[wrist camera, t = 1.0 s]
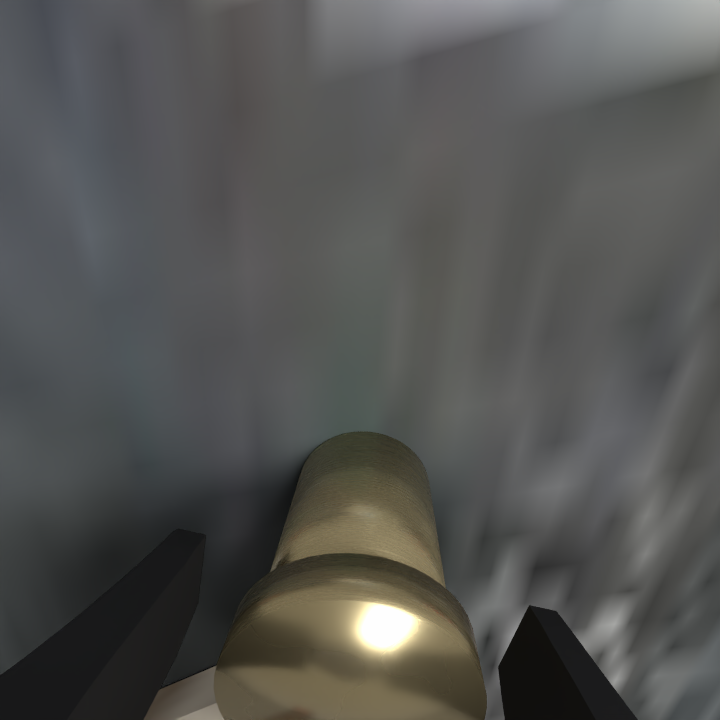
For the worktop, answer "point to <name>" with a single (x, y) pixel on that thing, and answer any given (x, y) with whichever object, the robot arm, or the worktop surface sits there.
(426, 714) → the knob
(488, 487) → the worktop surface
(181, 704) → the plate
